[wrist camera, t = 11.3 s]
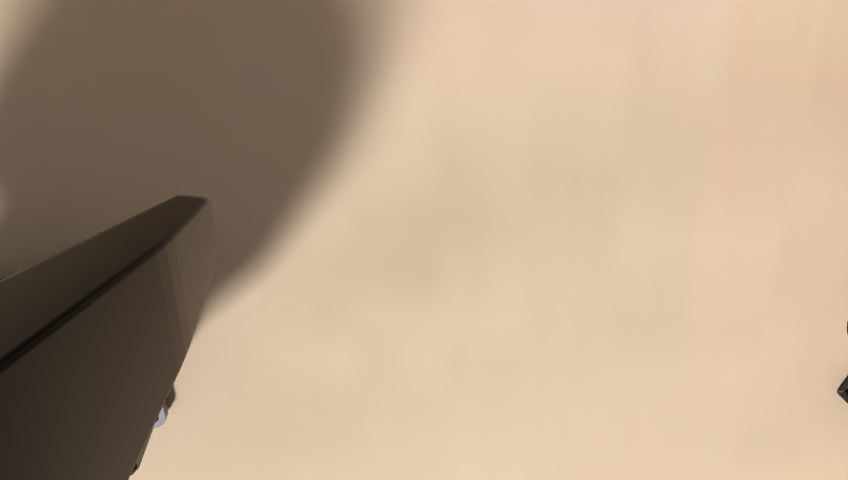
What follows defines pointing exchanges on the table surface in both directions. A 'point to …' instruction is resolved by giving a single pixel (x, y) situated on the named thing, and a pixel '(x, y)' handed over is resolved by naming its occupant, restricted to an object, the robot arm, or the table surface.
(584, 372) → the table surface
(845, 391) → the ammunition clip
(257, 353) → the table surface
